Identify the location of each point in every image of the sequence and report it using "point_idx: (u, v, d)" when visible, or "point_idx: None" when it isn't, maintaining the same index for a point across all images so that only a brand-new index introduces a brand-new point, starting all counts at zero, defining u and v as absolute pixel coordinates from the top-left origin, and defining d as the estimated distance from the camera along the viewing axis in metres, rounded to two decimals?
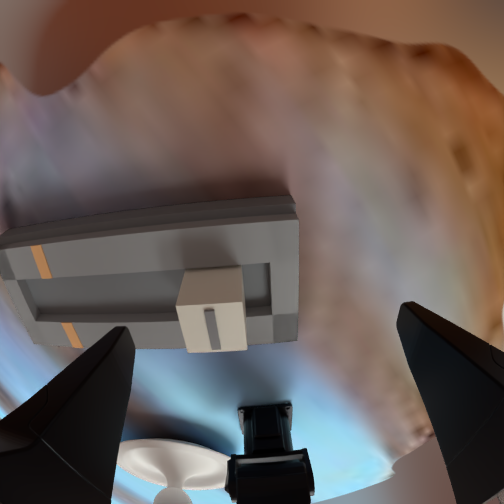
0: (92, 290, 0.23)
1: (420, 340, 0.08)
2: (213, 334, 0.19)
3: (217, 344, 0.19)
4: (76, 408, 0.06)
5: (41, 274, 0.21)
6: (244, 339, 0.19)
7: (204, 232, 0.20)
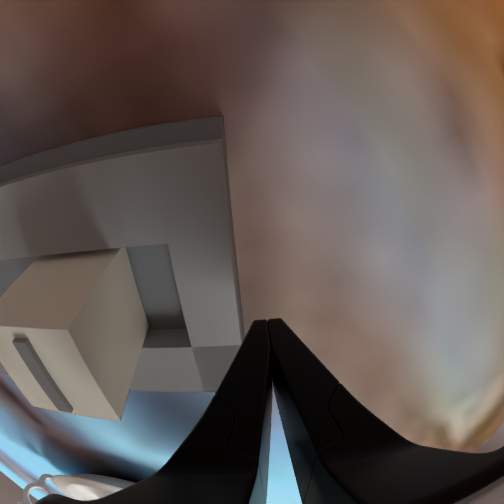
0: None
1: (273, 363, 0.08)
2: (46, 386, 0.07)
3: (61, 403, 0.08)
4: (266, 414, 0.06)
5: None
6: (106, 403, 0.08)
7: (43, 184, 0.09)
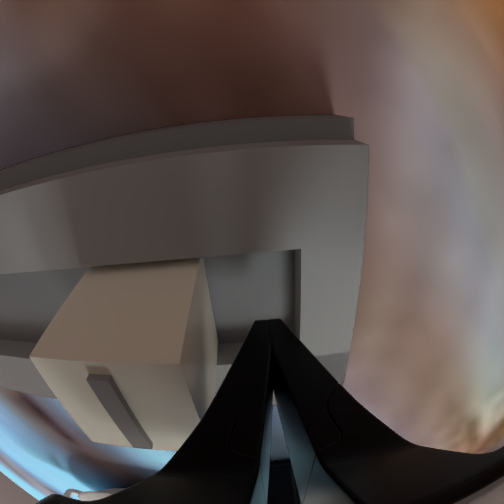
0: None
1: (272, 363, 0.08)
2: (125, 425, 0.07)
3: (141, 441, 0.07)
4: (267, 414, 0.06)
5: None
6: None
7: (143, 175, 0.08)
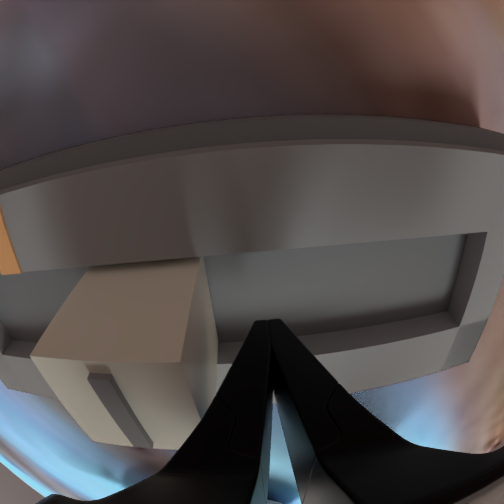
0: None
1: (272, 363, 0.08)
2: (126, 424, 0.07)
3: (142, 440, 0.07)
4: (267, 414, 0.06)
5: None
6: None
7: (407, 157, 0.08)
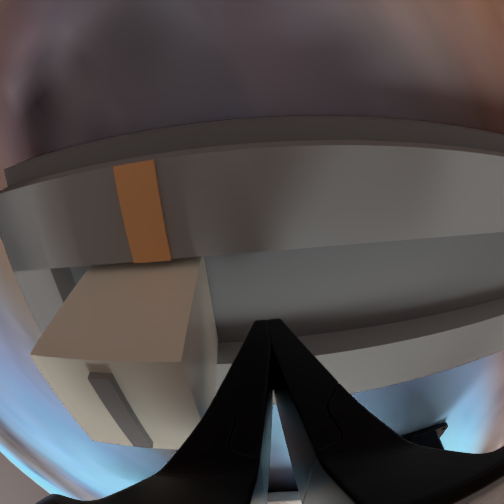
0: (265, 288, 0.11)
1: (272, 363, 0.08)
2: (126, 423, 0.07)
3: (142, 440, 0.07)
4: (267, 414, 0.06)
5: (133, 251, 0.09)
6: None
7: None
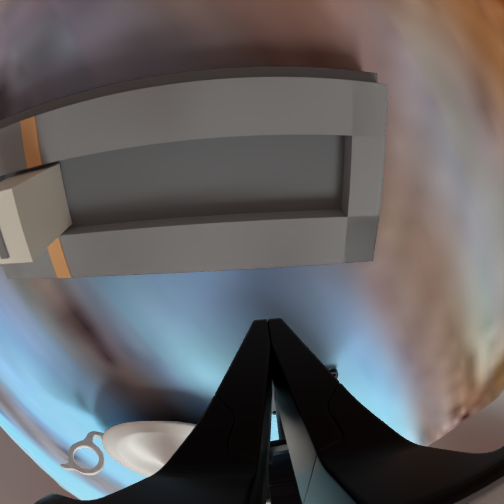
0: (94, 185, 0.17)
1: (273, 363, 0.08)
2: None
3: (3, 250, 0.12)
4: (266, 414, 0.06)
5: (27, 162, 0.14)
6: (25, 245, 0.13)
7: (270, 84, 0.14)
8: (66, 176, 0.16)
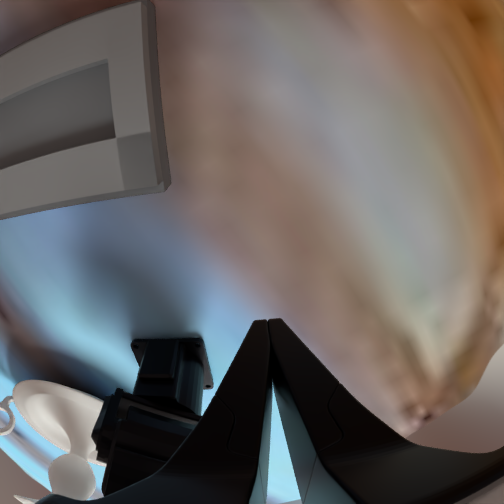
0: None
1: (273, 363, 0.08)
2: None
3: None
4: (266, 414, 0.06)
5: None
6: None
7: (44, 40, 0.11)
8: None
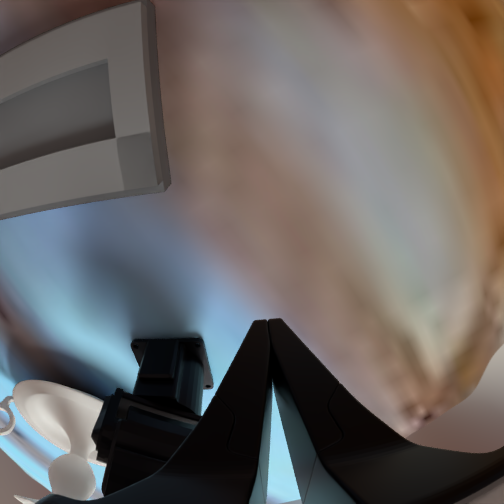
0: None
1: (273, 363, 0.08)
2: None
3: None
4: (266, 414, 0.06)
5: None
6: None
7: (44, 40, 0.11)
8: None
